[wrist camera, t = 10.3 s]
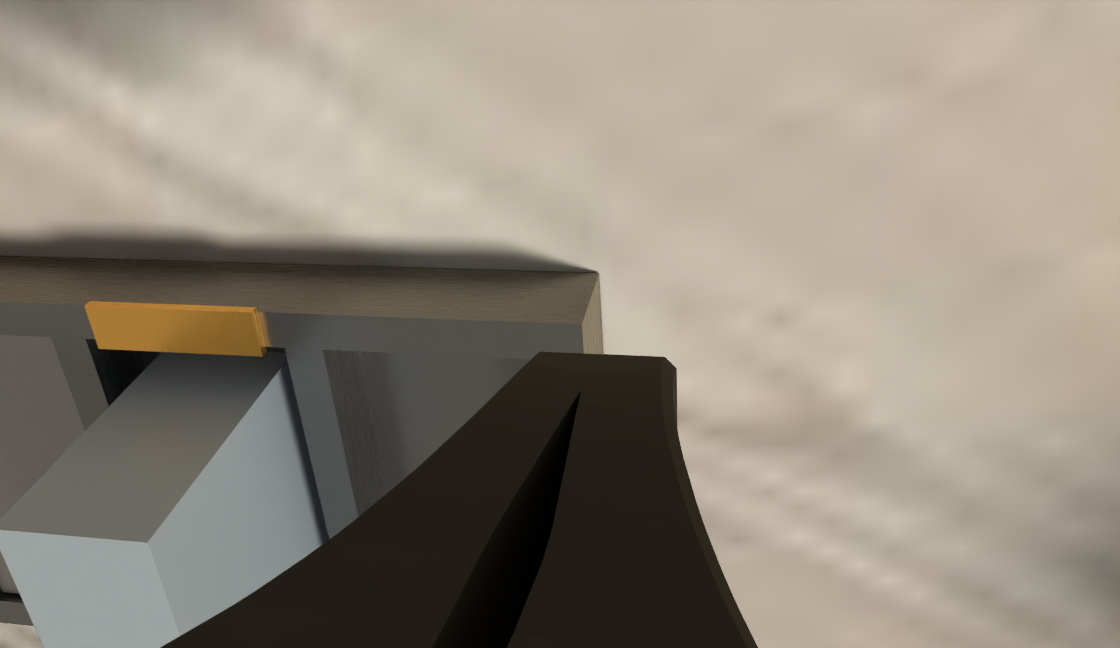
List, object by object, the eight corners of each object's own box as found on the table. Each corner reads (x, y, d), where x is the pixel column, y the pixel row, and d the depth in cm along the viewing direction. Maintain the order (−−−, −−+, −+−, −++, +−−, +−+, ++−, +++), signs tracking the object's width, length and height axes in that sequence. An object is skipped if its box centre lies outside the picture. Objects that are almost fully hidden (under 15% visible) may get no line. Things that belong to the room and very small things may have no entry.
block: (165, 347, 23) (-9, 528, 18) (292, 353, 22) (147, 542, 17) (231, 563, 26) (97, 768, 21) (343, 573, 26) (233, 787, 21)
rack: (618, 624, 26) (604, 697, 24) (28, 568, 29) (-25, 628, 27) (598, 268, 21) (580, 325, 19) (-111, 249, 24) (-187, 295, 22)
